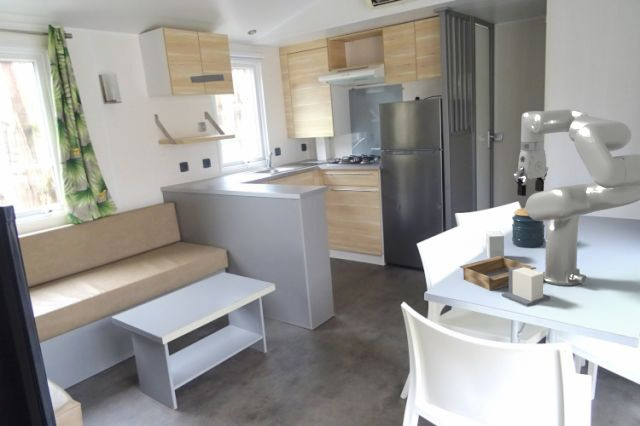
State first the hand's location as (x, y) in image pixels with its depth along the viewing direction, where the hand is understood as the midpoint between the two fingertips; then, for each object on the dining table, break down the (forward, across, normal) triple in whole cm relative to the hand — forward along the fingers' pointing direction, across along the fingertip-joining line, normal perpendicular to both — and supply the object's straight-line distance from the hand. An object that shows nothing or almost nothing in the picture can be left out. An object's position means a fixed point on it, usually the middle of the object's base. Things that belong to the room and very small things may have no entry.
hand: (530, 193), depth 165 cm
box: (+26, -25, -18) cm, 41 cm away
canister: (+29, +23, +18) cm, 42 cm away
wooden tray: (+28, -19, -2) cm, 34 cm away
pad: (+27, -26, -19) cm, 42 cm away
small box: (+29, -2, +14) cm, 32 cm away
